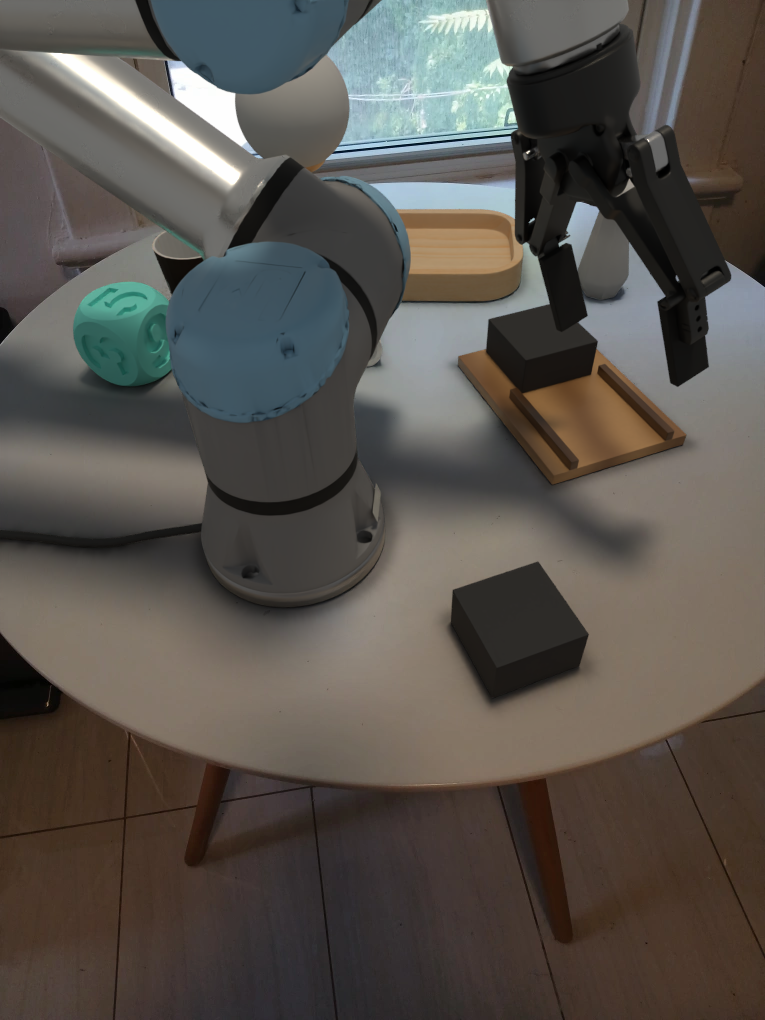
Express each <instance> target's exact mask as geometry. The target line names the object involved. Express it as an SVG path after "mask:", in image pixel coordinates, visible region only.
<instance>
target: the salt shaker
mask: <svg viewBox="0 0 765 1020" xmlns="http://www.w3.org/2000/svg"><path fill="white" fill-rule="evenodd" d="M633 187H634V185H633V184H632V182H631V181H630V179H629V181H628V183H627V186H626V188H625V190H624V191H623V193H625V192H626V191H628V190H630V189H631V188H633ZM623 193H621V194H623ZM621 194H620V195H621ZM620 195H618V196H620ZM618 196H616V197H618ZM592 226H593V227H592V230H591V231H590V235H589V237H588V241H587V243H586V246H585V248H584V250H583V254H582V257H581V259H580V261H579V264H578V267H577V270H578V275H579V279H580V283H581V288H582V292H583V294H584V295H585V296H586V297H588V298H591V299H596V300H599V301H603V300H607V299H612V298H615V297H616V296H617V295H618V293H619V292H620V290H621V289H622V287H623V286H624V284H625V283H626V281H627V280H628V278H629V275H630V243H629V241H628V240H627V238H626V237H625V235H624V234H623V232H622V231H621V229H620V228H619V226H618V225H617V223H616V222H615V221H614V220H609V219H606V218H604V217H603V216H602V214H601V213H600V211H599V210H598V213H597V216H596V219H595V221H594V224H593V225H592Z"/></svg>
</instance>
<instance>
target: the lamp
mask: <svg viewBox="0 0 765 1020" xmlns="http://www.w3.org/2000/svg"><path fill="white" fill-rule="evenodd" d="M234 108H235V114H236V115H235V116H236V120H237V123H238V126H239V129H240V131H241V133H242V135H243V137H244V139H245V140H246V142H247V144H248V145H249V146H250V147H251V149H252V150H253V151H254V152H255V153H256V154H257V155H258V156H260V158H262V159H266V158H271V157H277V156H282V155H288V156H289V157H291V158H292V159H294V160H295V161H296V162H298V163H299V164H301V165H302V166H303V167H305V168H306V169H307V170H309V171H310V172H311V173H313V172H315V171H318V170H319V169H320V168H321V167H322V166H323V165H324V164H325V163H326V160H327V159H328V158H330V157H331V156H332V154H334V153H335V151H336V150H337V149H338V147H339V146H340V144H341V142H342V141H343V139H344V137H345V135H346V132H347V129H348V126H349V125H348V124H349V121H350V120H349V119H350V110H351V109H350V97H349V92H348V87H347V85H346V82H345V79H344V77H343V75H342V73H341V71H340V69H339V68H338V66H337V65H336V63H335V62H334V61H333V60H332V59H331V58H330V57H329V56H328V54H327V55H325V56H324V57H323V58H322V59H321V60H320V61H319V62H318V63H317V64H316V65H315V66H314V68H312V69H311V70H310V71H308V72H307V73H306V74H304V75H302V76H301V77H299V78H297V79H294V80H292V81H290V82H286V83H285V84H283V85H281V86H280V87H278V88H275V89H273V90H271V91H268V92H264V93H260V94H251V95H249V94H236V93H234ZM395 209H396V210H397V212H398V213H399V215H400V217H401V219H402V221H403V223H404V225H405V228H406V231H407V234H408V238H409V244H410V251H411V264H410V271H409V275H408V278H407V281H406V286H405V291H404V294H403V298H402V301H401V302H486V301H487V302H488V301H493V300H494V301H495V300H498V299H502V298H505V297H507V296H509V295H511V294H512V293H513V292H515V291H516V290H517V289H518V288H519V286H520V284H521V279H522V271H523V261H524V244H523V245H521V244H519V243H518V242H517V240H516V238H515V217H513V216H510V215H509V214H507V213H504V212H501V211H498V210H494V209H493V210H491V209H484V208H483V209H482V208H418V209H417V208H408V209H407V208H395Z"/></svg>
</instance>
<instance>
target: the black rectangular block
mask: <svg viewBox="0 0 765 1020" xmlns="http://www.w3.org/2000/svg"><path fill="white" fill-rule="evenodd" d="M451 593H452V594H451V608H450V609H451V610H450V612H451V613H450V614H451V615H450V624H451V625H452V627H453V629H454V630H455V632H456V634H457V636H458V638H459V640H460V642H461V643H462V645H463V647H464V649H465V652H466V653H467V655H468V657H469V659H470V660H471V662H472V664H473V666H474V667H475V669H476V671H477V673H478V675H479V677H480V679H481V680H482V682H483V685H484V686H485V687H486V689H487V691H488V693H489V695H490V697H491V698H492V699H494V698H497V697H500V696H502V695H505V694H508V693H510V692H514V691H515V690H518V689H519V690H520V689H521V688H524V687H527V686H530V685H532V684H535V683H538V682H540V681H542V680H545V679H547V678H550V677H553V676H555V675H558V674H561V673H564V672H566V671H569V670H573V669H574V668H577V667H580V666H581V662H582V659H583V656H584V653H585V649H586V646H587V643H588V639H589V636H590V634H589V632H588V630H587V629H586V628H585V627H584V625H583V624H582V622H581V621H580V619H579V618H578V616H577V615H576V614H575V612H574V611H573V609H572V607H571V606H570V604H569V603H568V602H567V601H566V599H565V597H564V595H562V593H561V592H560V590H559V589H558V588H557V586H556V584H555V583H554V582H553V580H552V579H551V577H550V576H549V574H548V573H547V571H546V570H545V569H544V568H543V566H542V565H541V563H540V562H539V561H535V562H532V563H529V564H526V565H523V566H520V567H517V568H514V569H510V570H508V571H505V572H502V573H499V574H496V575H493V576H490V577H487V578H484V579H481V580H478V581H475V582H472V583H468V584H466V585H463V586H459V587H456V588H453V589H452V591H451Z"/></svg>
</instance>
